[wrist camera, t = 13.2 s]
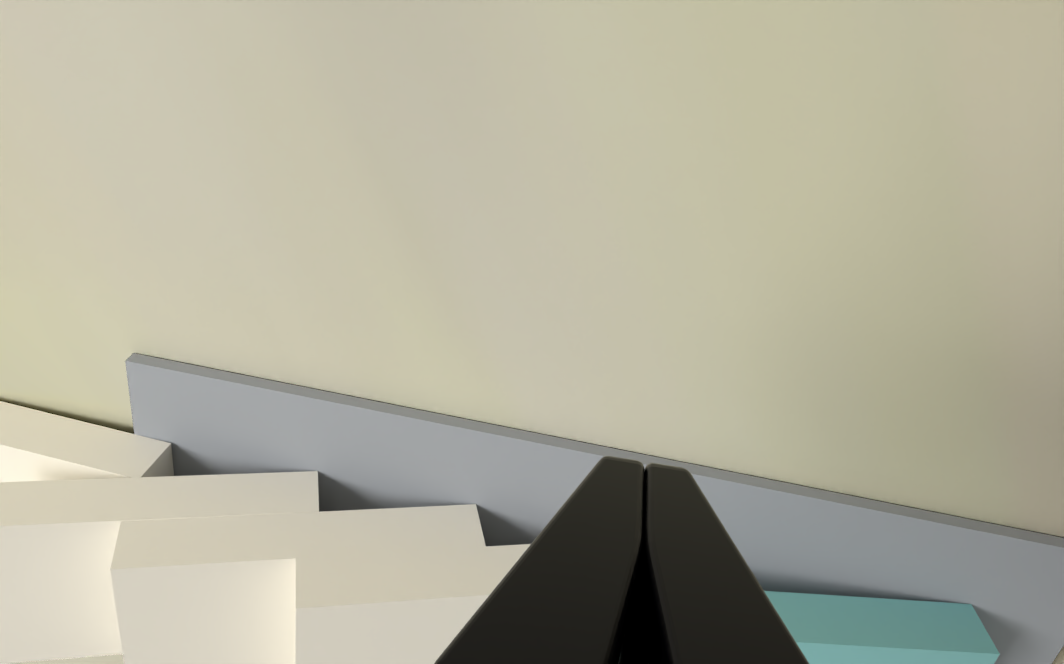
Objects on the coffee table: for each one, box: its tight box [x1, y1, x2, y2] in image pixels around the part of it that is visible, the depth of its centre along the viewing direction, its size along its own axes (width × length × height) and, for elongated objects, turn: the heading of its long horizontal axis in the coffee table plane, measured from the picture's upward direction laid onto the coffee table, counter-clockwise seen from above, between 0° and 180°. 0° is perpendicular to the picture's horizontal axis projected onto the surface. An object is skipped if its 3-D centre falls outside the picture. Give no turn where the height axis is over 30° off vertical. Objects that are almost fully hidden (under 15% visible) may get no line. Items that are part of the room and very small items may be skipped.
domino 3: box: [110, 504, 486, 664], centre depth 24 cm, size 2×5×9 cm
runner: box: [125, 353, 1064, 664], centre depth 26 cm, size 26×10×1 cm, turn 82°
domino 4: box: [295, 544, 531, 664], centre depth 24 cm, size 2×5×9 cm
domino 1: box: [0, 401, 174, 482], centre depth 27 cm, size 2×5×9 cm
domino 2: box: [0, 471, 319, 664], centre depth 25 cm, size 2×5×9 cm
